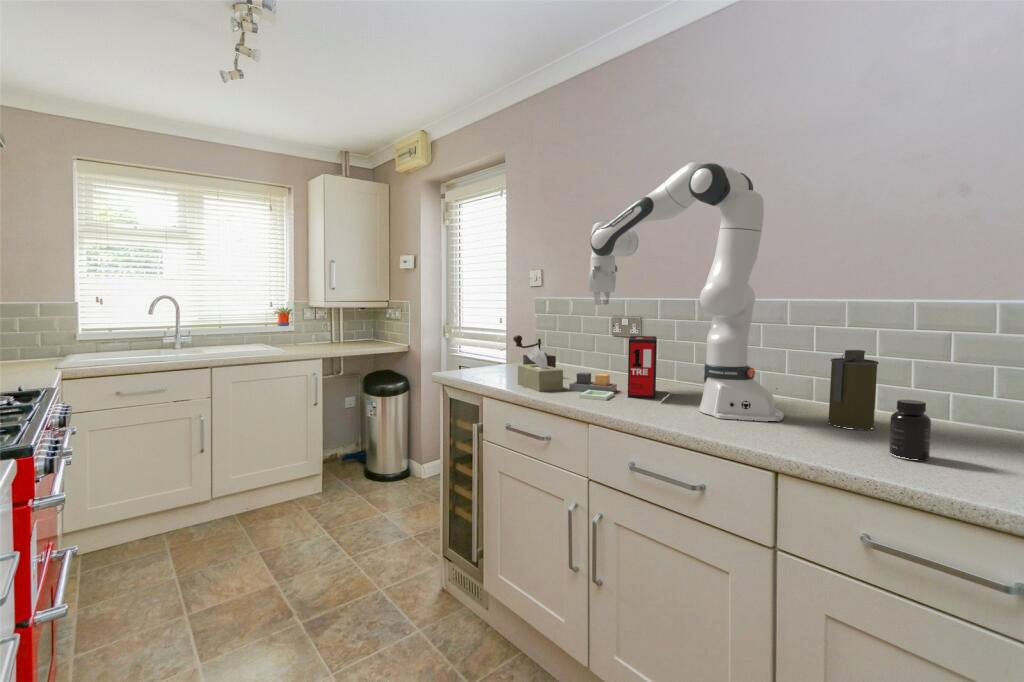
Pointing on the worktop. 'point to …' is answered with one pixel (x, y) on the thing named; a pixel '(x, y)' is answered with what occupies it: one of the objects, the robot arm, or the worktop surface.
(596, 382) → the orange plug
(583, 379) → the black plug
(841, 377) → the canister
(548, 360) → the pepper mill
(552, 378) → the tissue box
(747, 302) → the robot arm
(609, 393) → the tray
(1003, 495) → the worktop surface
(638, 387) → the cleaning product box
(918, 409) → the supplement bottle
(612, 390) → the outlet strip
